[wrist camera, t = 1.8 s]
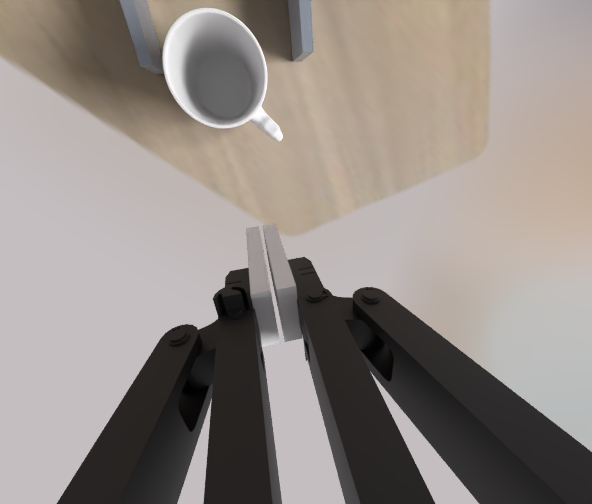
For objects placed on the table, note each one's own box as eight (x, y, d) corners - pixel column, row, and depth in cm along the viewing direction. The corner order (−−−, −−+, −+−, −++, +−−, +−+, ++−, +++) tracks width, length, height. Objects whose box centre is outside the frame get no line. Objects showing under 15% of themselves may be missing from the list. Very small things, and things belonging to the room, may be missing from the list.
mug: (177, 88, 28) (140, 72, 17) (217, 31, 26) (203, -24, 16) (253, 157, 32) (260, 177, 22) (291, 111, 31) (318, 109, 20)
